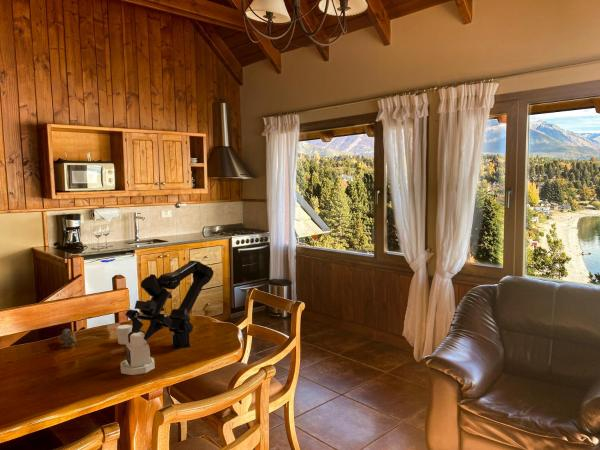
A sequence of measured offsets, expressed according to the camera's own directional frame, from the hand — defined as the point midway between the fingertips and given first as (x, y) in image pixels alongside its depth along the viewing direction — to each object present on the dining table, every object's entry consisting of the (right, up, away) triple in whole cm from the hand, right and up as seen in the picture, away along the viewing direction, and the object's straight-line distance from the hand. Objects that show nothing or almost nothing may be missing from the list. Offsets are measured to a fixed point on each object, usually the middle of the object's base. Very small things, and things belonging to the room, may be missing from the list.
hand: (138, 338), depth 172 cm
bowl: (0, -11, 0) cm, 11 cm away
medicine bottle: (0, -9, +1) cm, 9 cm away
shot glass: (-16, -9, +28) cm, 34 cm away
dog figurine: (-39, -9, +26) cm, 48 cm away
